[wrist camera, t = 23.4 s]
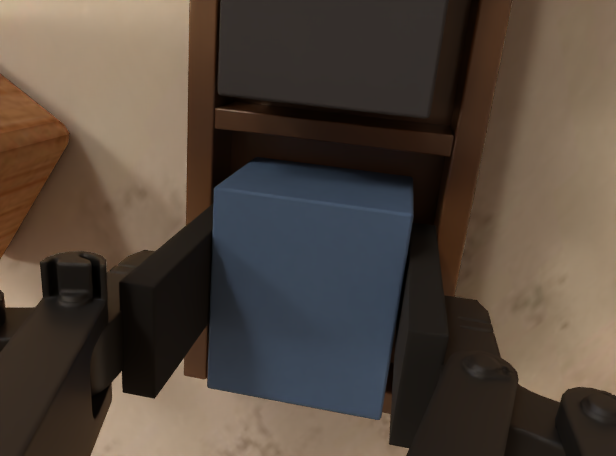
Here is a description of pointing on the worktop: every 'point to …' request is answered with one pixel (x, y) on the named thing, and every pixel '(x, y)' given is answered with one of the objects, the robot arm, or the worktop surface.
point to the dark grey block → (333, 53)
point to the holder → (355, 135)
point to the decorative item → (24, 155)
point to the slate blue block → (307, 283)
